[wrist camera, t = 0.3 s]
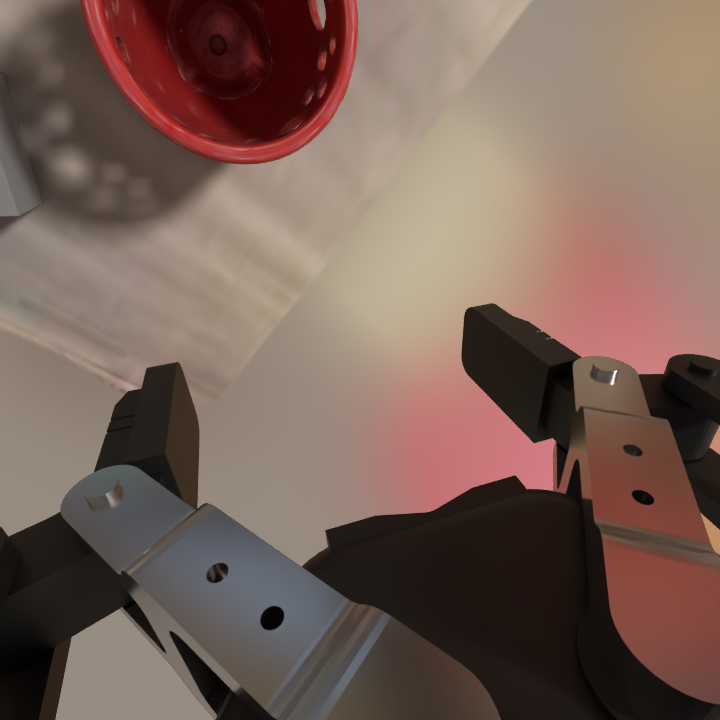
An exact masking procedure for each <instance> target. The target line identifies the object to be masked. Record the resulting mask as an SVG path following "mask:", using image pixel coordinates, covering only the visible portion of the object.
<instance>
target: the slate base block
mask: <svg viewBox="0 0 720 720" xmlns="http://www.w3.org/2000/svg"><path fill="white" fill-rule="evenodd" d="M42 203H43V201H42V198H41V195H40V191H39V188H38V185H37V182H36V178H35V175H34V172H33V169H32V165H31V162H30V159H29V156H28V152H27V149H26V146H25V143H24V139H23V136H22V133H21V130H20V126H19V123H18V120H17V117H16V113H15V110H14V107H13V104H12V100H11V97H10V94H9V91H8V87H7V84H6V81H5V78H4V74H3V73H2V72H0V216H20V215H22V214H24V213H26V212H28V211H29V210H31V209H33V208H35V207H37V206H38V205H40V204H42Z"/></svg>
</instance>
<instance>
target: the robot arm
mask: <svg viewBox="0 0 720 720" xmlns="http://www.w3.org/2000/svg"><path fill="white" fill-rule="evenodd" d="M462 363H463V366H464V369H465V371H466V373H467V374H468V375H469V376H470V377H471V379H472V380H473V381H474V382H475V383H476V384H477V385H478V386H479V387H480V388H481V389H482V390H483V391H484V392H485V393H486V394H487V395H488V396H489V397H490V398H491V399H492V400H493V401H494V402H495V403H496V404H497V405H498V406H499V407H500V408H501V410H502V411H504V413H505V414H506V415H507V416H508V417H509V418H510V419H511V420H512V421H513V422H514V423H515V424H516V425H517V426H518V427H519V428H520V429H521V430H522V431H523V432H524V433H525V434H526V435H527V436H528V437H529V438H530V440H531V441H532V442H533V443H536V442H540V441H543V440H547V439H551V438H553V439H554V440H555V446H554V451H553V491H549V490H539V489H526V488H525V486H524V485H523V484H522V483H521V482H520V480H519V479H518V478H517V477H516V476H512V477H508V478H505V479H502V480H498V481H494V482H491V483H487V484H484V485H480V486H477V487H474V488H471V489H469V490H468V491H466V492H465V493H463V494H461V495H459V496H458V497H456V498H454V499H453V500H451V501H449V502H448V503H446V504H444V505H442V506H441V507H439V508H438V509H436V510H434V511H431V512H426V513H411V514H396V515H380V516H374V517H370V518H366V519H363V520H360V521H356V522H353V523H349V524H346V525H342V526H339V527H335V528H332V529H328V530H326V537H327V544H328V548H326V549H324V550H323V551H321V552H319V553H318V554H317V555H315V556H314V557H313V558H311V559H310V560H309V561H307V563H305V564H304V565H303V566H302V567H301V566H300V565H298V564H297V563H295V562H294V561H292V560H291V559H290V558H288V557H287V556H285V555H284V554H282V553H281V552H280V551H278V550H277V549H275V548H274V547H273V546H271V545H270V544H268V543H267V542H265V541H264V540H262V539H261V538H260V537H258V536H256V535H255V534H254V533H253V532H251V531H250V530H248V529H247V528H245V527H244V526H242V525H241V524H240V523H238V522H237V521H235V520H234V519H233V518H231V517H230V516H228V515H227V514H225V513H224V512H223V511H221V510H220V509H218V508H217V507H215V506H214V505H211V504H208V503H205V504H203V505H202V506H200V507H199V508H198V509H197V500H198V466H199V425H198V419H197V414H196V411H195V408H194V404H193V401H192V398H191V395H190V392H189V389H188V386H187V383H186V379H185V376H184V373H183V370H182V367H181V365H180V364H179V362H176V363H170V364H165V365H160V366H154V367H149V368H147V369H146V373H145V377H144V381H143V385H142V389H137V390H132V391H128V392H127V393H126V394H125V395H124V396H123V398H122V399H121V400H120V401H119V402H118V403H117V404H116V405H115V408H114V411H113V414H112V417H111V422H110V423H109V426H108V429H107V434H106V436H105V439H104V442H103V445H102V448H101V452H100V455H99V458H98V461H97V464H96V468H95V471H94V473H92V474H90V475H88V476H86V477H85V478H83V479H82V480H81V481H79V482H78V483H77V484H76V485H74V486H73V487H72V488H71V489H70V490H69V492H68V493H67V494H66V495H65V497H64V499H63V501H62V504H61V512H59V513H57V514H56V515H54V516H52V517H50V518H48V519H46V520H44V521H42V522H40V523H37V524H35V525H33V526H31V527H28V528H26V529H24V530H22V531H20V532H18V533H15V534H13V535H11V536H9V537H8V535H7V534H6V533H5V531H4V530H3V529H2V528H1V527H0V720H55V718H56V713H57V708H58V703H59V698H60V693H61V688H62V683H63V678H64V672H65V667H66V662H67V657H68V652H69V647H70V642H71V637H72V636H74V635H76V634H77V633H79V632H80V631H82V630H84V629H85V628H87V627H89V626H91V625H92V624H94V623H96V622H98V621H99V620H101V619H103V618H104V617H106V616H108V615H110V614H111V613H113V612H115V611H116V610H118V609H120V610H121V611H122V612H123V614H124V615H125V616H126V617H127V618H128V619H129V620H130V621H131V622H132V623H133V625H134V626H135V627H136V628H137V629H138V630H139V631H140V632H141V633H142V634H143V636H144V637H146V639H147V640H148V641H149V642H150V643H151V644H152V645H153V647H154V648H155V649H156V650H157V651H158V652H159V653H160V654H161V655H162V656H163V657H164V659H166V661H167V662H168V663H169V664H170V665H171V666H172V668H173V669H174V670H175V671H176V673H177V674H178V675H179V677H180V678H181V679H182V681H183V682H184V683H185V685H186V686H187V688H188V689H189V690H190V692H191V693H192V694H193V695H194V697H195V698H196V699H197V700H198V701H199V703H200V704H201V705H202V706H203V707H204V708H205V710H206V711H207V712H208V713H209V714H210V715H211V716H212V717H213V718H214V719H215V720H720V555H719V554H717V553H716V552H715V551H714V549H713V547H712V545H711V543H710V540H709V537H708V534H707V531H706V528H705V525H704V522H703V519H702V516H701V514H700V513H702V514H703V515H704V516H705V517H706V518H707V519H708V520H710V521H711V522H712V523H713V524H714V525H715V526H716V527H717V528H719V529H720V455H719V454H718V453H716V452H715V451H714V450H712V449H711V448H710V447H709V446H710V444H711V442H712V440H713V438H714V435H715V434H716V432H717V430H718V427H719V425H720V360H717V359H714V358H710V357H707V356H701V355H695V354H681V355H676V356H673V357H672V358H670V359H669V361H668V364H667V366H666V369H665V372H664V374H640V375H639V374H638V373H637V372H636V370H634V368H632V367H631V366H629V365H628V364H626V363H624V362H622V361H619V360H616V359H613V358H609V357H603V356H587V357H580V356H579V355H577V354H576V353H575V352H573V351H572V350H570V349H569V348H567V347H566V346H564V345H562V344H561V343H560V342H558V341H557V340H555V339H554V338H553V339H551V336H549V335H548V334H546V333H545V332H541V330H540V329H539V328H537V327H536V326H534V325H533V324H531V323H530V322H528V321H525V320H522V319H519V318H516V317H514V316H512V315H510V314H509V313H507V312H506V311H504V310H503V309H501V308H500V307H499V306H497V305H496V304H493V303H492V304H486V305H481V306H475V307H470V308H468V309H467V310H466V312H465V316H464V327H463V341H462Z"/></svg>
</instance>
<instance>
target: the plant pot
mask: <svg viewBox="0 0 720 720" xmlns="http://www.w3.org/2000/svg"><path fill="white" fill-rule="evenodd" d="M324 3H325V8H326V20H325V26H324V29H323V27H322V24H321V21H320V17H319V14H318V8H317V0H80V4H81V8H82V12H83V16H84V20H85V24H86V27H87V29H88V32H89V35H90V38H91V40H92V43H93V45H94V47H95V50H96V52H97V54H98V57H99V58H100V60H101V62H102V64H103V66H104V68H105V69H106V71H107V73H108V75H109V76H110V78H111V80H112V81H113V83H114V84H115V85H116V87H117V88H118V90H119V91H120V93H121V94H122V95H123V97H124V98H125V99H126V100H127V101H128V103H129V104H130V105H131V106H132V107H133V109H134V110H135V111H136V112H137V113H138V114H139V115H140V116H141V117H142V118H143V119H144V120H145V121H146V122H147V123H148V124H150V125H151V126H152V127H153V128H154V129H156V130H157V131H158V132H159V133H161V134H162V135H164V136H165V137H166V138H168V139H169V140H171V141H172V142H174V143H176V144H177V145H179V146H181V147H183V148H185V149H187V150H189V151H191V152H193V153H195V154H198V155H200V156H203V157H206V158H209V159H212V160H216V161H221V162H226V163H233V164H259V163H265V162H270V161H274V160H278V159H281V158H283V157H285V156H288V155H290V154H292V153H294V152H296V151H298V150H299V149H301V148H302V147H304V146H305V145H307V144H308V143H309V142H311V141H312V140H313V139H314V138H315V137H316V136H317V135H318V134H319V133H320V132H321V131H322V130H323V129H324V128H325V127H326V125H327V124H328V123H329V122H330V120H331V119H332V118H333V116H334V114H335V113H336V111H337V110H338V108H339V106H340V104H341V102H342V100H343V98H344V95H345V93H346V90H347V88H348V84H349V81H350V78H351V74H352V71H353V67H354V62H355V57H356V50H357V39H358V13H357V2H356V0H324ZM311 97H312V98H311ZM310 99H311V100H310ZM298 125H299V126H298ZM297 126H298V127H297ZM296 127H297V128H296ZM294 128H295V129H294ZM293 129H294V130H293Z"/></svg>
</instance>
